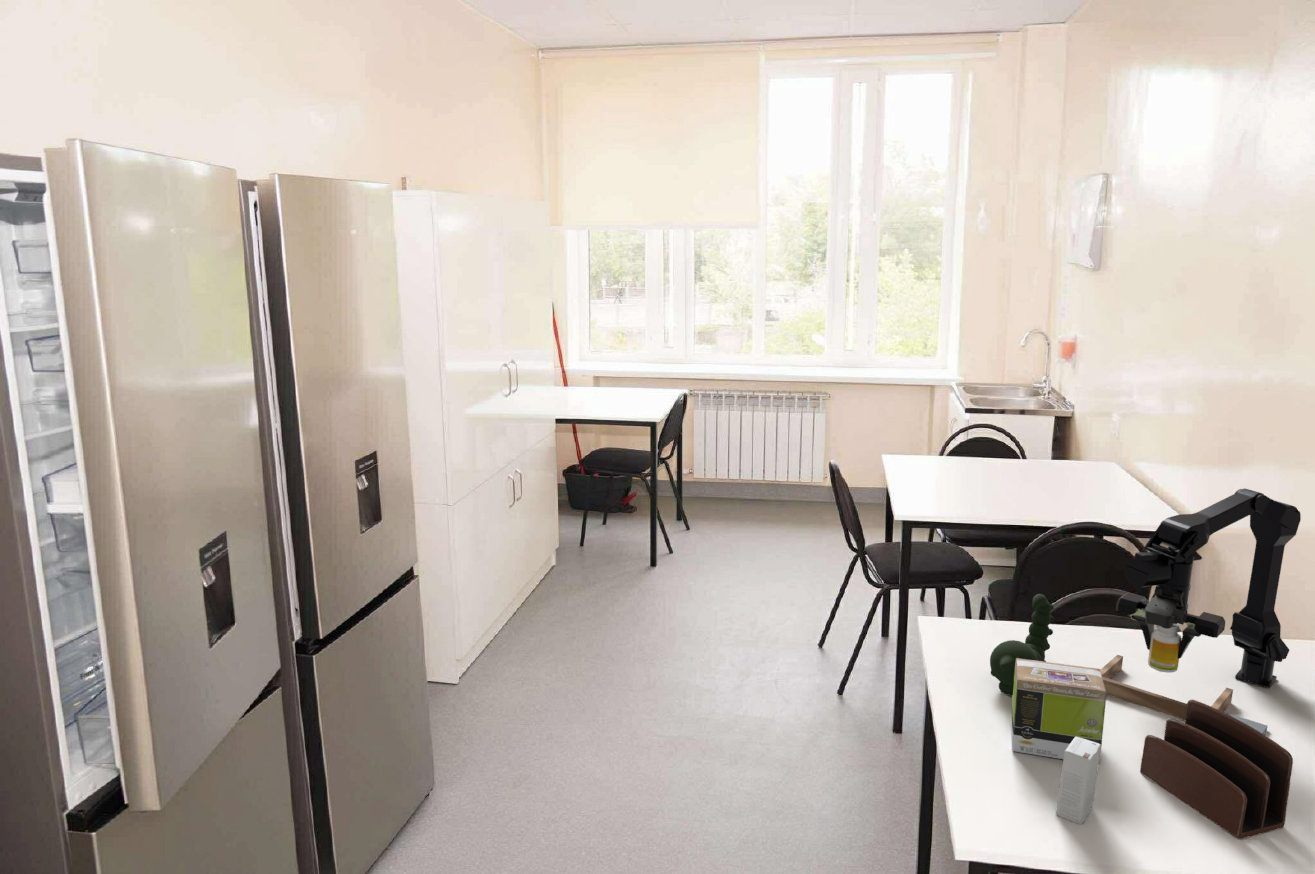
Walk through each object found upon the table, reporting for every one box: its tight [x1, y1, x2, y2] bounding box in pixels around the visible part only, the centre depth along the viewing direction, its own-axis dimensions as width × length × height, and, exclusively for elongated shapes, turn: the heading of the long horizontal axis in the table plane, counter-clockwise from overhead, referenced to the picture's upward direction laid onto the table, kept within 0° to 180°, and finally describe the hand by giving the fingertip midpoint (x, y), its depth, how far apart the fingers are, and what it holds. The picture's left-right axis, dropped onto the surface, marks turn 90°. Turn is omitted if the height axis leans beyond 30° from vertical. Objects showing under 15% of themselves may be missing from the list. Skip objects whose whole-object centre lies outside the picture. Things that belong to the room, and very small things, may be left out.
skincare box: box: [1055, 737, 1102, 825], centre depth 152 cm, size 6×4×12 cm
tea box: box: [1010, 658, 1107, 765], centre depth 171 cm, size 15×10×15 cm, turn 71°
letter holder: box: [1139, 699, 1294, 840], centre depth 156 cm, size 10×20×14 cm, turn 18°
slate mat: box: [1225, 712, 1268, 735], centre depth 178 cm, size 10×7×1 cm
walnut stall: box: [1099, 654, 1234, 721], centre depth 192 cm, size 14×22×3 cm, turn 45°
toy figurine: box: [989, 593, 1055, 697], centre depth 195 cm, size 9×19×25 cm
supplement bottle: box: [1147, 623, 1182, 673], centre depth 189 cm, size 5×5×10 cm
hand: (1164, 653), depth 189 cm, fingers closed on supplement bottle, 5 cm apart
